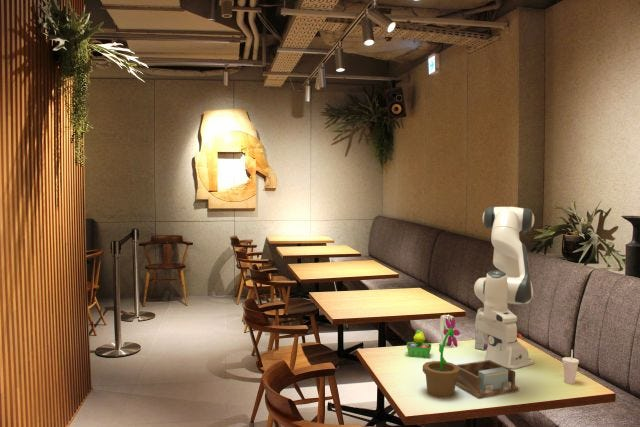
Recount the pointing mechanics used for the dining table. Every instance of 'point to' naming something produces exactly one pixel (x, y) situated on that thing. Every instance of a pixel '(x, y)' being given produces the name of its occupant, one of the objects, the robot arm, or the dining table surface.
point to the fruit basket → (419, 346)
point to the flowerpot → (443, 368)
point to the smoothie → (570, 368)
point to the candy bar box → (479, 340)
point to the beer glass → (443, 326)
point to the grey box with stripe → (493, 378)
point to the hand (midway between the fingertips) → (494, 346)
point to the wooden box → (471, 381)
